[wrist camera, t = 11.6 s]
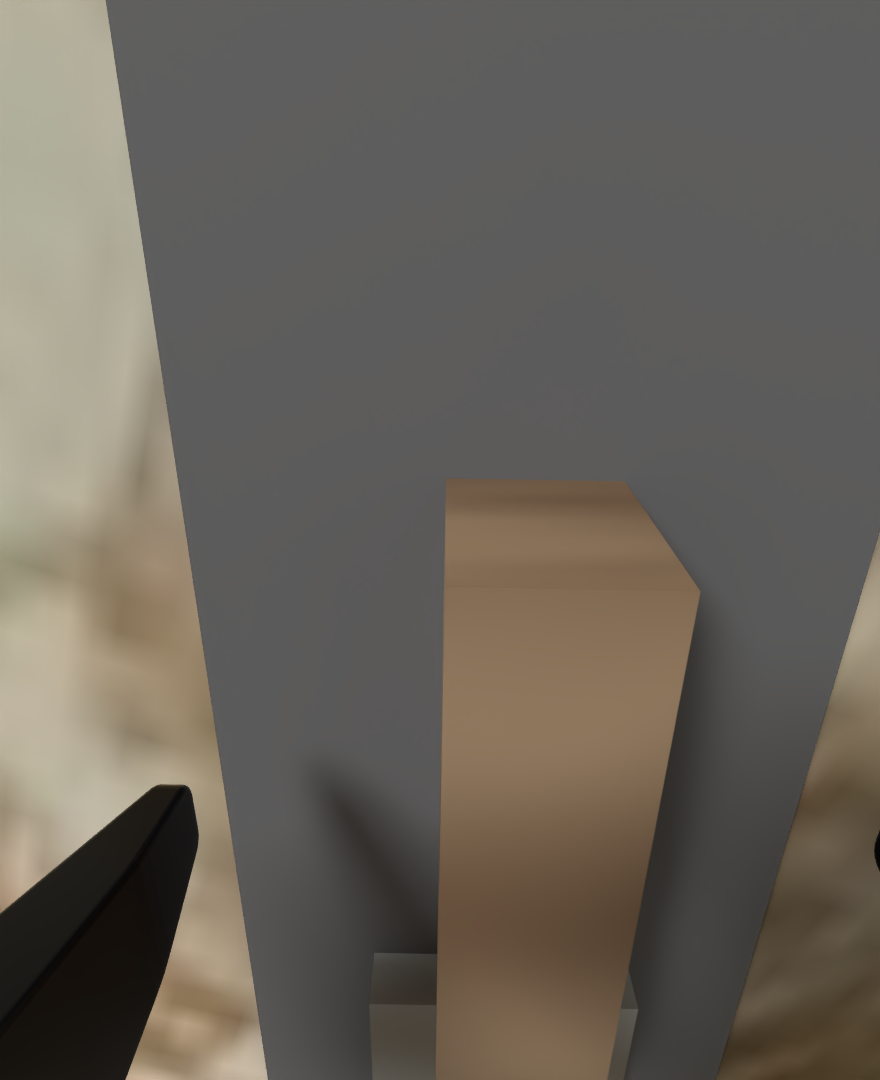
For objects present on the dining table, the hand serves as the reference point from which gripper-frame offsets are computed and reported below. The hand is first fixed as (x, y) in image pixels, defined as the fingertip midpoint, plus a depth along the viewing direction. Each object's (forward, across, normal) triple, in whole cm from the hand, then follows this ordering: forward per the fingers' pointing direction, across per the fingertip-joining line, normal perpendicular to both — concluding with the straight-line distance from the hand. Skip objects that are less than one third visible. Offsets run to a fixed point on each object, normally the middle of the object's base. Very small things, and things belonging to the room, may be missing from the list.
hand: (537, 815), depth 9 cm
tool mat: (+3, 0, +4) cm, 5 cm away
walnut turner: (+2, 0, +3) cm, 4 cm away
